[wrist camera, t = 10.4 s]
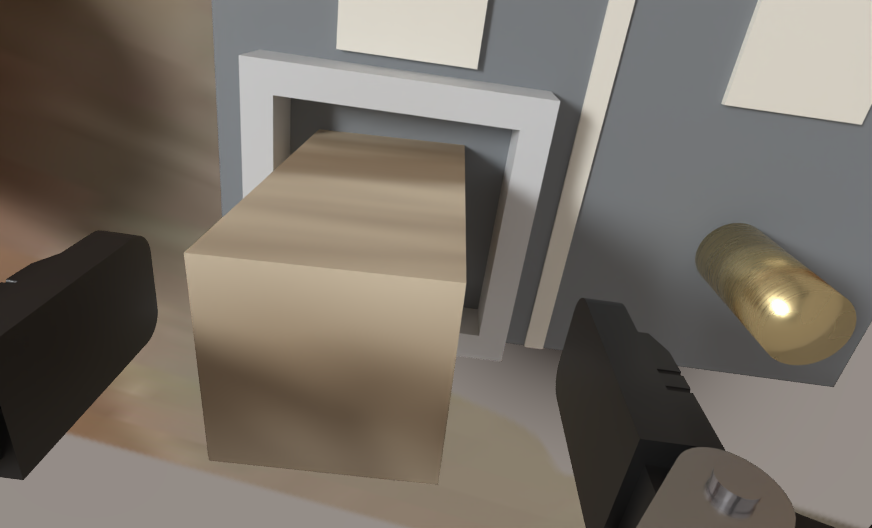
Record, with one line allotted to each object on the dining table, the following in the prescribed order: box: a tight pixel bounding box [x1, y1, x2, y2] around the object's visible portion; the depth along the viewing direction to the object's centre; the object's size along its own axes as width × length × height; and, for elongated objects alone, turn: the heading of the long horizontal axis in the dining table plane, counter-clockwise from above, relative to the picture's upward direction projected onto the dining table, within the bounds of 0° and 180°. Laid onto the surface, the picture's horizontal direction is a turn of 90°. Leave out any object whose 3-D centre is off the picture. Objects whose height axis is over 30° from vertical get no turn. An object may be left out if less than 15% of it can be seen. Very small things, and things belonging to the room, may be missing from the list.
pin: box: [695, 223, 856, 365], centre depth 14 cm, size 2×2×4 cm
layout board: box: [212, 0, 872, 387], centre depth 14 cm, size 13×20×2 cm, turn 83°
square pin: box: [184, 129, 466, 485], centre depth 12 cm, size 4×4×8 cm
